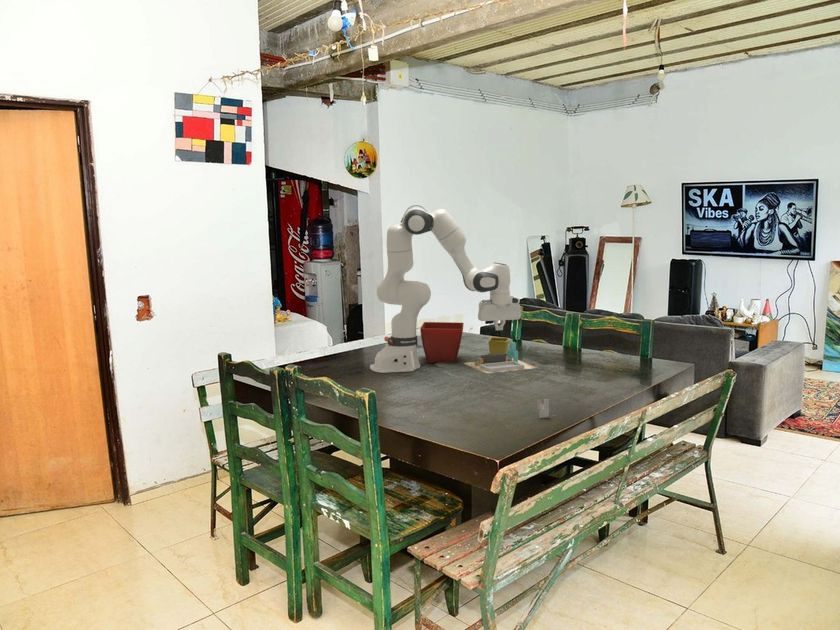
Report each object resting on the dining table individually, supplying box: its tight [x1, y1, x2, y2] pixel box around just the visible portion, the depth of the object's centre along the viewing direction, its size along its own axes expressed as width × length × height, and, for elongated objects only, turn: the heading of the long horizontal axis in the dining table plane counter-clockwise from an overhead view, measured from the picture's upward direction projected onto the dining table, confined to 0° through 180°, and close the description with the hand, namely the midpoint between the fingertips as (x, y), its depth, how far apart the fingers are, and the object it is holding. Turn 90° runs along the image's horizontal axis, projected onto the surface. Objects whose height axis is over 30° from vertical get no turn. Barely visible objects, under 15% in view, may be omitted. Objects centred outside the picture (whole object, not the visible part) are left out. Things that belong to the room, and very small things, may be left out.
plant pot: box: [419, 321, 464, 364], centre depth 313 cm, size 19×19×17 cm
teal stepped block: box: [506, 341, 519, 362], centre depth 305 cm, size 2×6×8 cm, turn 22°
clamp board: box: [462, 357, 538, 374], centre depth 298 cm, size 26×22×3 cm
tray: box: [480, 361, 525, 373], centre depth 293 cm, size 17×9×2 cm, turn 112°
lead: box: [478, 353, 508, 364], centre depth 301 cm, size 13×3×4 cm, turn 112°
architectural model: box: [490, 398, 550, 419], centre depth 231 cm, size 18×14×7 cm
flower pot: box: [488, 337, 510, 355], centre depth 319 cm, size 9×9×9 cm
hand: (499, 330), depth 301 cm, fingers closed
